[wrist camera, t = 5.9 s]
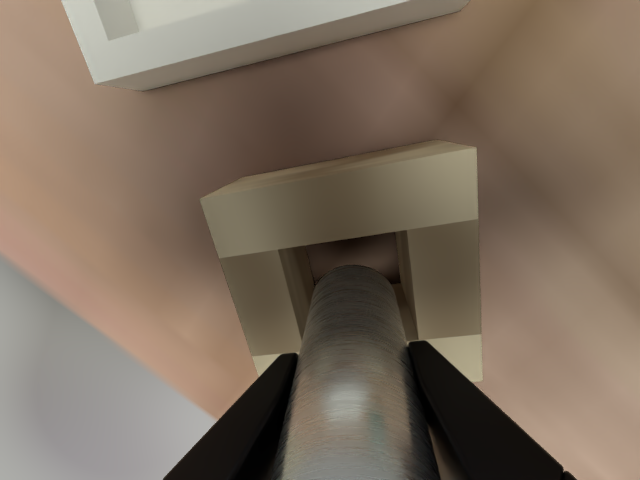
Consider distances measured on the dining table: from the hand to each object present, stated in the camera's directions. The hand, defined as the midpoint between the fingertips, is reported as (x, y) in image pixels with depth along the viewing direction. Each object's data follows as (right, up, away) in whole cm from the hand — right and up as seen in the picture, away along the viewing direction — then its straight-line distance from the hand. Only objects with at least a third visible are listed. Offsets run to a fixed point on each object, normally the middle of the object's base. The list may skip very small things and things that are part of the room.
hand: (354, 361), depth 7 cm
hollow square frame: (+1, +2, +6) cm, 7 cm away
